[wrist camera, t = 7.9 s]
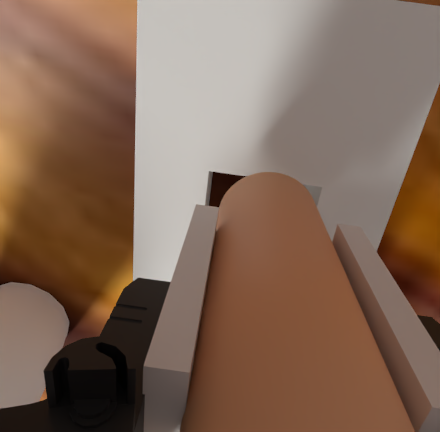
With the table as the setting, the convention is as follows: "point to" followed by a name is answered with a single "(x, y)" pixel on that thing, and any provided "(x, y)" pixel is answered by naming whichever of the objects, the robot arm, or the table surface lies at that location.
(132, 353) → the robot arm
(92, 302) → the table surface
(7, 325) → the foam cup
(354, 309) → the peg
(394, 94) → the board
